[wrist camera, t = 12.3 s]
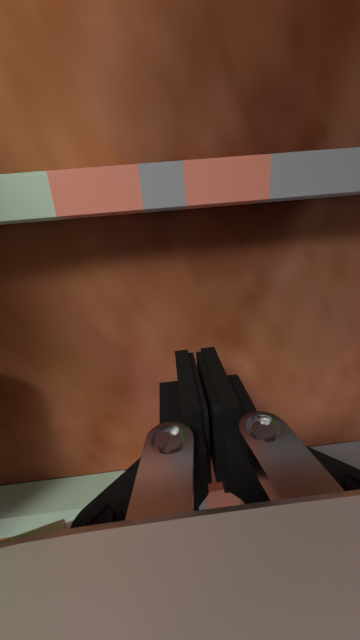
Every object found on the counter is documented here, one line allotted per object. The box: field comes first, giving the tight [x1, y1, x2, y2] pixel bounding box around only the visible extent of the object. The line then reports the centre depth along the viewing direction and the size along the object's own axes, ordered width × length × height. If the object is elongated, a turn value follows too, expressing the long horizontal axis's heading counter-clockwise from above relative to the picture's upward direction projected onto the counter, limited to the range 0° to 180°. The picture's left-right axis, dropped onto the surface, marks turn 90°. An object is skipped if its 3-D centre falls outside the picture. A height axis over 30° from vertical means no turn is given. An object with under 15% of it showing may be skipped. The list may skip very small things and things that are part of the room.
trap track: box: [0, 147, 360, 538], centre depth 12 cm, size 17×34×2 cm, turn 95°
